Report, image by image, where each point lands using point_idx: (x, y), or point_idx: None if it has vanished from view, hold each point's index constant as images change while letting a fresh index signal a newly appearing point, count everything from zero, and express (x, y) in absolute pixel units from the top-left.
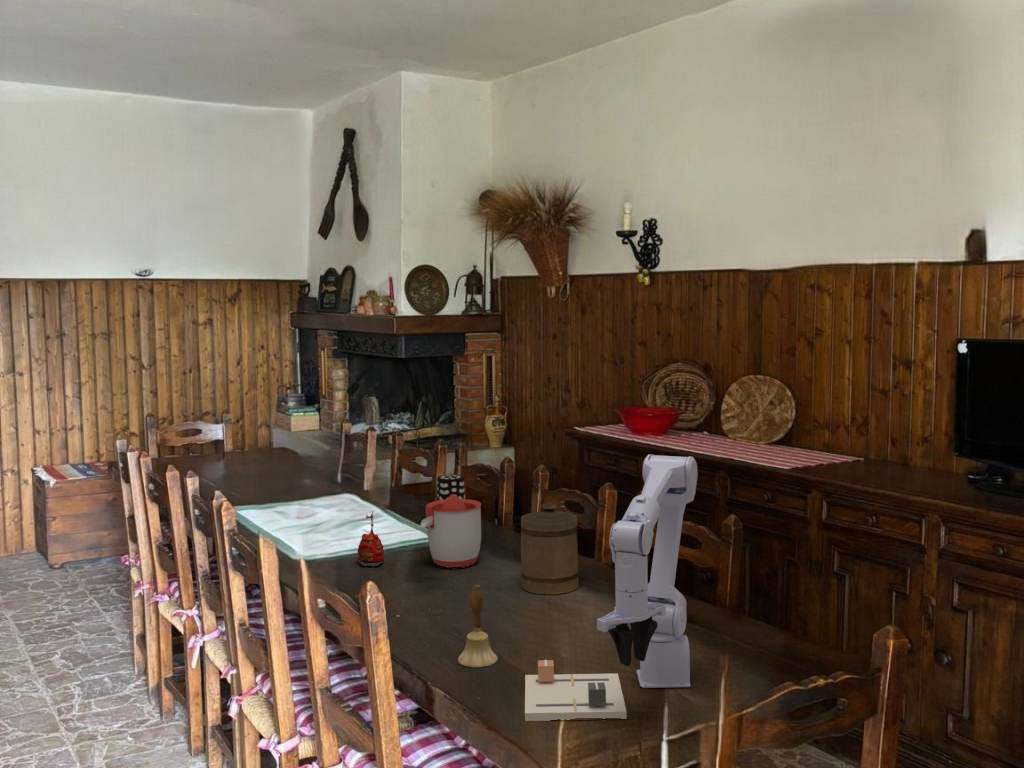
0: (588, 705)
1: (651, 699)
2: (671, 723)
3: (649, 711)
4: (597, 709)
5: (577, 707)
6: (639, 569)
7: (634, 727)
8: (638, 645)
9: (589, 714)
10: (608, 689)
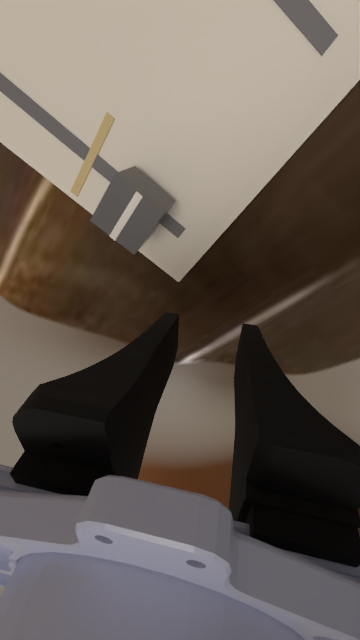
0: None
1: (324, 238)
2: None
3: (255, 280)
4: None
5: (90, 176)
6: None
7: (171, 305)
8: (241, 382)
9: None
10: (250, 133)
